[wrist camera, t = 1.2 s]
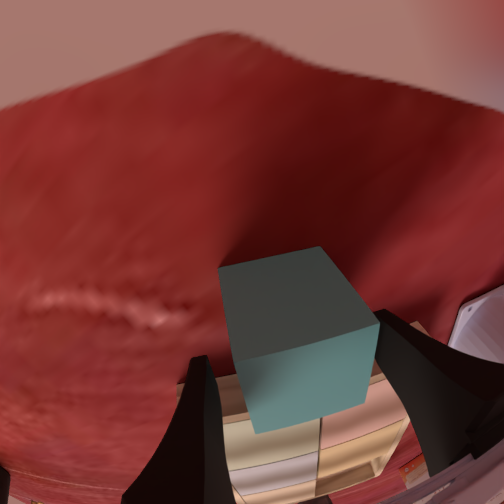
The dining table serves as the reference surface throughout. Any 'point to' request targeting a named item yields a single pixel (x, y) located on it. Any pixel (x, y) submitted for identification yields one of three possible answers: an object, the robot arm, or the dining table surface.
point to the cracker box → (418, 473)
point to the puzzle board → (310, 445)
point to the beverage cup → (318, 500)
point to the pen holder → (4, 486)
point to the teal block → (297, 337)
